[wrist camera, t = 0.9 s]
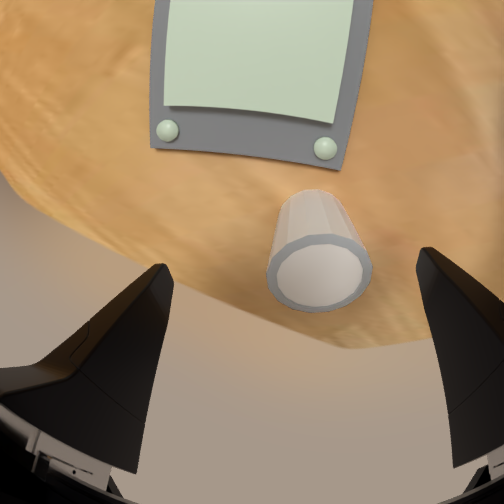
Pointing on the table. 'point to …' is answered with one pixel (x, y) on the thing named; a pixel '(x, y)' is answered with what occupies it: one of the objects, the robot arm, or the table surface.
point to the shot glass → (316, 255)
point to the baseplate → (258, 76)
